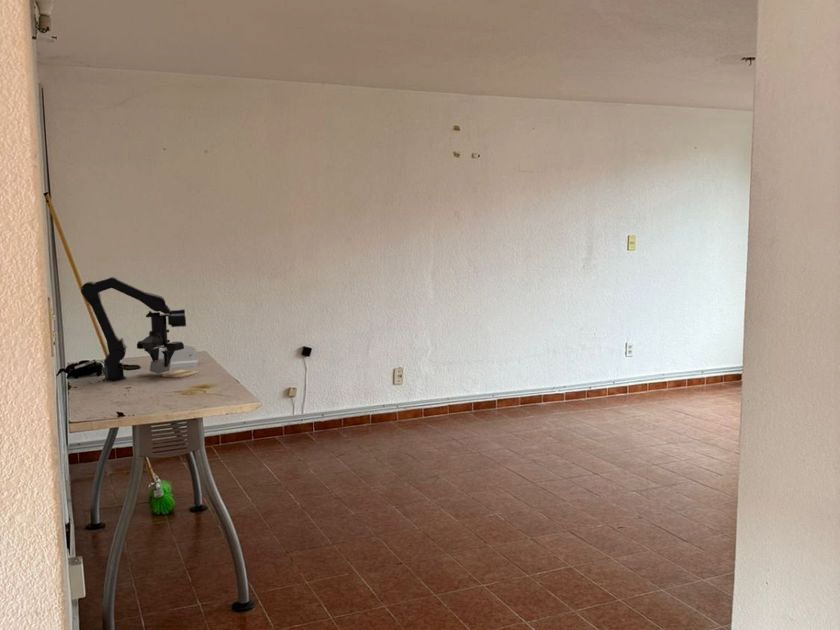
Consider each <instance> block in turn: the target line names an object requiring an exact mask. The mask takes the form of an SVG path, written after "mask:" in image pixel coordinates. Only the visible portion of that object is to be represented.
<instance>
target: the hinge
mask: <svg viewBox="0 0 840 630" xmlns="http://www.w3.org/2000/svg"><path fill="white" fill-rule="evenodd" d="M164 350H165V348H159V359H162V358H164V354H163V353H162V351H164ZM170 361H171V366H170V369H177V367H180V368H188V367H187V366H194V367H199V364H200V363H199V359H198V353H197V349H196V347H194V346H191V345H185V344H184V349H181V350H177V351H175V352H174V354H173V355H172V358H171V360H170Z"/></svg>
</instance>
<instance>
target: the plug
mask: <svg viewBox="0 0 840 630" xmlns="http://www.w3.org/2000/svg"><path fill="white" fill-rule="evenodd" d="M170 366H171V361H170V362H169V365H168V367H165V363H164V358H162V359H158V360H154V361H153V360H151V361H150V366H149V372H151V373H154V374H156V375H159V374H162V373H166V372H169V371H170V370H171V368H170Z"/></svg>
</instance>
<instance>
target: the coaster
mask: <svg viewBox="0 0 840 630" xmlns="http://www.w3.org/2000/svg"><path fill="white" fill-rule="evenodd" d="M196 373H197V374H199V373H200V371H198V370H187V369H186V370H185V369H177V370H174V371H170V372H167V373H164V374H162V375H161V376H162V377H165V378H166V377H167V378H168V377H169V378H178V377H180V378H179V379H181V378H182V379H184V378H187V376H188V377H191V376H193V374H194V375H196ZM190 375H191V376H190Z"/></svg>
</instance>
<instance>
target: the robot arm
mask: <svg viewBox="0 0 840 630" xmlns="http://www.w3.org/2000/svg"><path fill="white" fill-rule="evenodd" d="M109 289H114V290H116V291H117V292H120V293H122V294H124V295H126V296H128V297H131V298H133V299H135V300H137V301H139V302H141V303H143V305H145V306H147V308H149V309H151V310H149V312H148V313H146V315H145V318H150V324H151V326H150V327H151V330H150V331H149V332H148V336H146V337H145V338H143V339H142V340H139V341H137V344H136V349H137V350H139V349H140V350H144V352H146V353H148V355H149V356H150V358H151V361H154V360H158V359H159V350H160V349H162V348H165V350H164V351H162V353H163V354H164V363H165V367H168V365H169V362H170V360H171V358H172V355H173V354H174V352H175V351H177V350H181V349H184V345H185V344H184V343H183V342H182V341H171V340H170V339H168V333H169V332H170V329H168V326H170V327H171V328H180V327H182V328H183V327H184V328H185V327H187V320H186V313H185V312H186V310H185V309H184V308H183V309H175V310H171V308H170V307H169V306H168V305H167V304H166V300H165V298H164V297H163V296H161V295H158V294H154V293H151V292H147V291H144V290H141V289H139V288H137V287H135V286H132V285H130V284H128V283H126V282H124V281H122V280H119V279H118V278H117V277H114V276H112V277H108V278H105V279H102V280H99V281H96V282H94V281H87V282H85V283H84V284H83V285H82V286H81V288H80V293H81V295H82V296H83V298H84V299H85V300H86V302H87V303H88V305H89V306H91V308H92V311H93V313H94V315H95V318H96V319H97V322H98V324H99V327H100V329H101V331H102V333H103V336H104V338H105V339H106V340H105V341H106V346H107V351H108V354H107V356H106V357H105V358H104V360H103V367H104V368H103V369H104V370H103V371H104V377H103V378H102V379H103V380H102V381H108V380H112V381H111V382H116V380H117V381H119V380H123V379H127V376H124V375H125V374H124V367H123V363H122V362H121V361H122V360H123V359H124V358H125V356H126V353H127V348H128V346H127V345H126V344H125V342H124V341H125V340H124V338H123V337H121V338H119V337H118V336H117V333H115V329H114V327H113V324H111V321H110V319H109V316H108V314H107V312H106V309H105V307H104V305H103V302H102V298H101V297H102V296H101V292H105V291H107V290H109ZM152 311H153V312H152ZM162 313H163V314H162ZM167 324H168V326H167Z"/></svg>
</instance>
